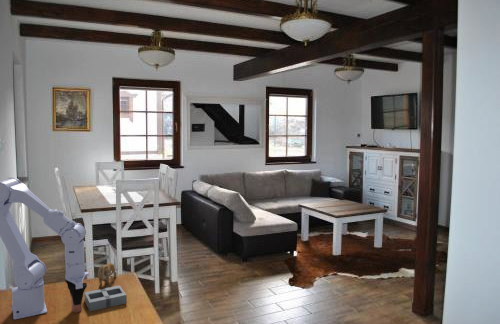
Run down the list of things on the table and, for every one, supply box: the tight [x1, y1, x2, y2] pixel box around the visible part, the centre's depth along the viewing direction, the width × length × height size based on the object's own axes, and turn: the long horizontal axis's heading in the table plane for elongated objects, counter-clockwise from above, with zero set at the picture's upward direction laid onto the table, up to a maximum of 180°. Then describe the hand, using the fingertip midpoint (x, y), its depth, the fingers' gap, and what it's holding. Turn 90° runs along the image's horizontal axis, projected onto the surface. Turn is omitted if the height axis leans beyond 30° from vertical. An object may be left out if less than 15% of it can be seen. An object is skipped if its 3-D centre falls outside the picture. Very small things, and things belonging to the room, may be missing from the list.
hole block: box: [83, 285, 128, 312], centre depth 142 cm, size 12×9×3 cm
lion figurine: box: [96, 262, 117, 288], centre depth 158 cm, size 15×5×9 cm, turn 8°
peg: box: [70, 295, 83, 313], centre depth 136 cm, size 3×3×8 cm
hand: (76, 301), depth 136 cm, fingers open, 4 cm apart
